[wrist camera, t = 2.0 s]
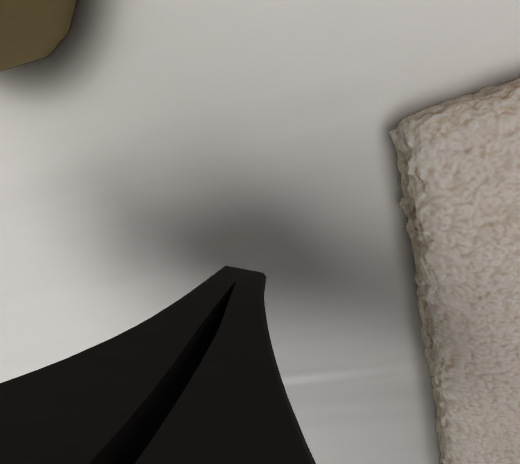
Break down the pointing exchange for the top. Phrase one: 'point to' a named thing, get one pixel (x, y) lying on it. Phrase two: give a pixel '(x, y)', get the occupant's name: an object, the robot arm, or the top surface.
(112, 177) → the top surface
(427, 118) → the washcloth
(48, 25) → the squeeze bottle
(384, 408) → the top surface
